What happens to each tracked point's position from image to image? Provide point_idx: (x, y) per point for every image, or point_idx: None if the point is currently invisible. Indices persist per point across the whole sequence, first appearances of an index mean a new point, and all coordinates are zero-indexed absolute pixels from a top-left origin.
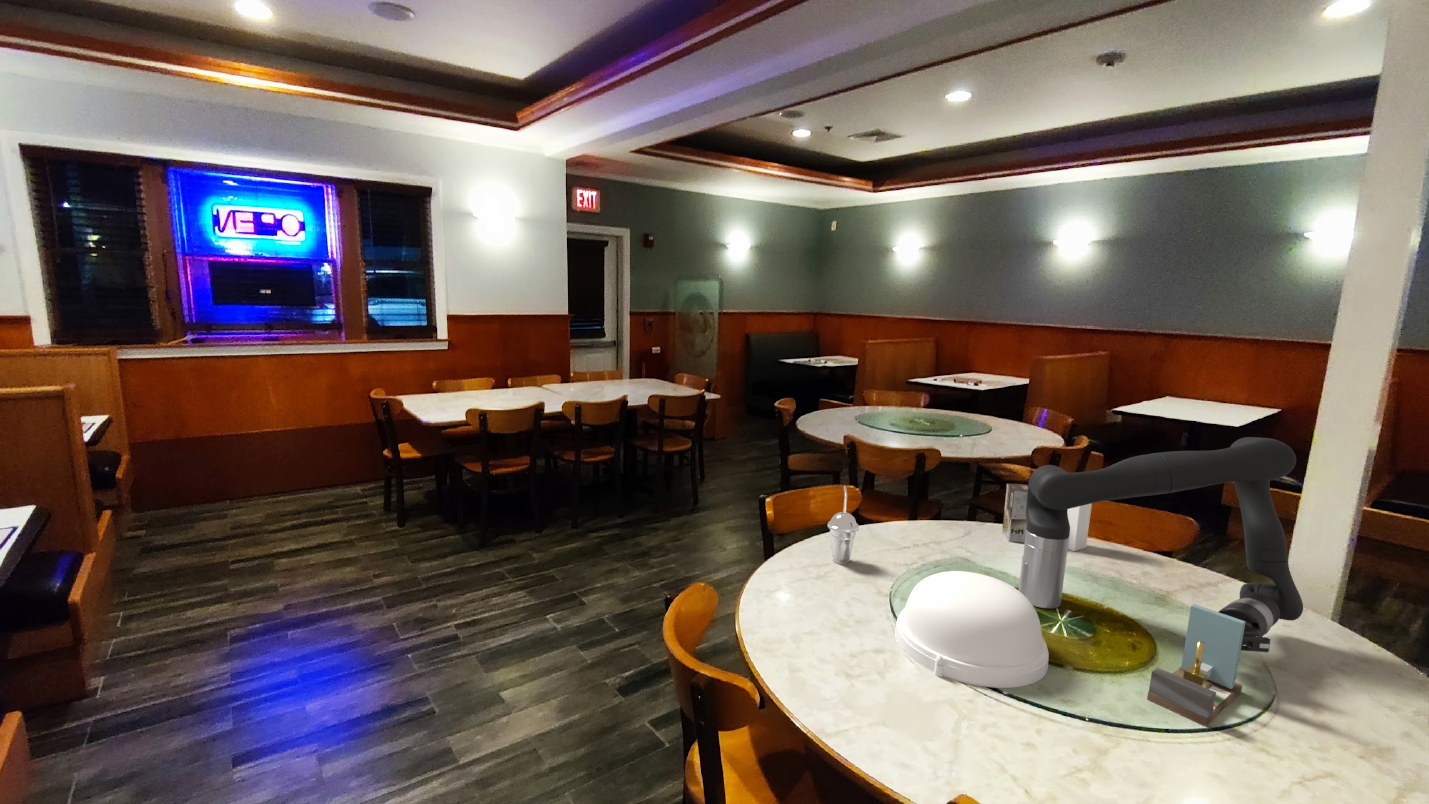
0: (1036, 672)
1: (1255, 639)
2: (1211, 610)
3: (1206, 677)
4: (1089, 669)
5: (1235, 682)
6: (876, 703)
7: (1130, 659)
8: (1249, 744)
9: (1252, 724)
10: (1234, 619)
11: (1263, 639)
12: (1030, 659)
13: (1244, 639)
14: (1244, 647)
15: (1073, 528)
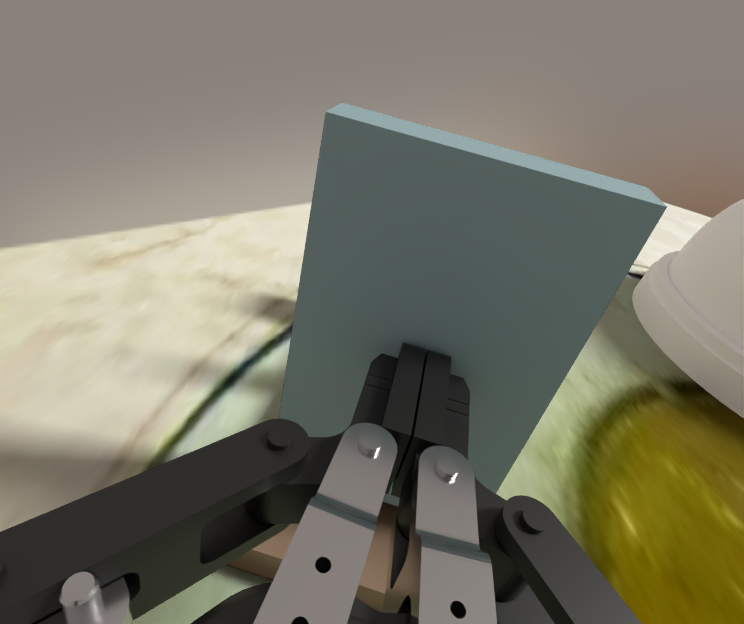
0: (648, 296)
1: (152, 470)
2: (539, 167)
3: None
4: (637, 406)
5: (252, 550)
6: (660, 224)
7: (643, 563)
8: (258, 289)
9: (231, 358)
10: (390, 120)
11: (49, 523)
12: (678, 280)
13: (255, 425)
14: (230, 514)
15: None
